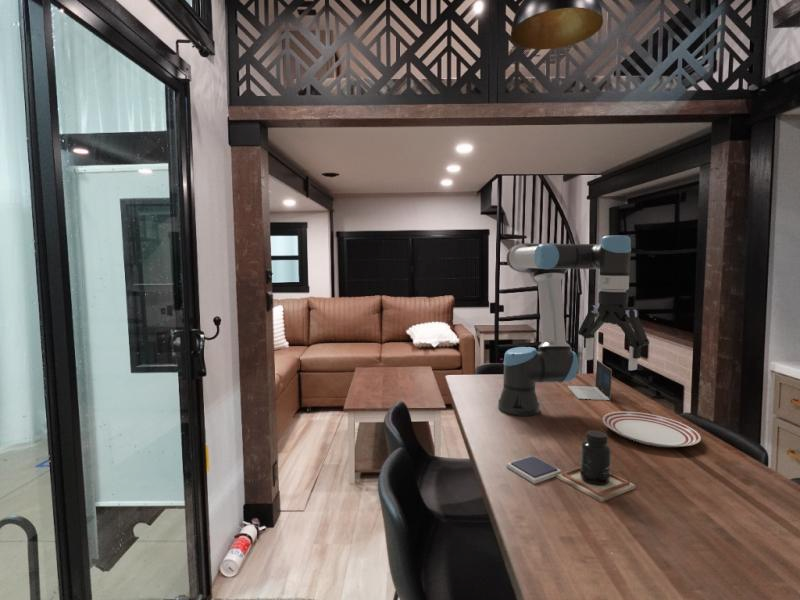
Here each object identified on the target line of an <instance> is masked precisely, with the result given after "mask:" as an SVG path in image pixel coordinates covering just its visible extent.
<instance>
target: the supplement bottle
mask: <svg viewBox="0 0 800 600" xmlns="http://www.w3.org/2000/svg"><path fill="white" fill-rule="evenodd" d="M585 440H586V441H584V442H583V443H582V444H581V454H580V466H581V470H580V475H581V478H582V479H583V480H584V481H586V482H587V483H590V484H593V485H599V486H602V485H606V484H608V483H609V480H610V473H611V461H612V449H611V447H610V446H609V444H608V441H609V440H608V435H607V433H605V432H603V431H599V430H588V431H586V437H585Z"/></svg>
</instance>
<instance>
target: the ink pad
mask: <svg viewBox="0 0 800 600" xmlns="http://www.w3.org/2000/svg"><path fill="white" fill-rule="evenodd" d="M506 468H508V469H509V470H511V471H512V472H514V473H515V474H517V475H519V476H521V477H522V478H524V479H525V480H528V482H531V483H532V484H535V485H536V484H538V483H541V482H543V481H546V480H549V479H551V478H555V477H557V474H560V473H563V471H562V470H561V469H559V468H557V467H556V466H554V465H551V464H550V463H548V462H546V461H544V460H542V459H540V458H539V457H537V456H535V455H530V456H527V457H523V458H521V459H517V460H514V461H511V462H507V463H506Z"/></svg>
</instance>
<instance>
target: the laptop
mask: <svg viewBox="0 0 800 600" xmlns="http://www.w3.org/2000/svg"><path fill="white" fill-rule="evenodd" d="M595 367H596V369H595V370H596V371H595V375H596V376H595V386H586V385H585V386H584V385H583V386H582V385H581V386H579V385H567V387H568V389H569V391H571V392H572V393H573V395H575V397H576V398H577V399H578V400H585V399H588V400H589V399H591V400H589V401H600V400H609V401H608V402H611V399H612V398H611V397H612V380H613V379H612V377H613V375H612V374H613V370H612V369H611V368H610V367H608V365H607V366H606V365H605V364H604V363H603V362H601V361H599V360H598V359H596V366H595ZM588 400H587V401H588Z"/></svg>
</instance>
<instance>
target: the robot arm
mask: <svg viewBox="0 0 800 600" xmlns="http://www.w3.org/2000/svg"><path fill="white" fill-rule="evenodd" d="M631 243H632V242H631V237H630V236H628V235H623V234H621V235H620V234H619V235H618V234H617V235H604V236H602V238H601V239H600V243H594V244H593V243H553V242H549V243H529V242H528V243H519V244H516V245H514V246H512V247H511V248H510V249H509V250H508V252H507V254H506V257H505V258H506V263H507V265H508V267H509V268H510V269H511V270H513V271H516V272H518V273H523V274H524V273H525V274H532V275H533V279H534V280H535V281H536V282H537V286H538V287H537V288H538V302H539V316H540V317H539V319H540V320H539V321H540V332H541V333H540V334H541V343H540V344H539V345H538V347H537V348H538V349H537V348H535V347H531V346H527V347H526V346H517V347H512V348H510V349H509V348H508V349H507V350H506V351H505V353H504V358H503V363H502V364H503V388H502V391H501V394H500V398H499V399H498V404H497V408H498V409H499V411H501V413H504V414H508V415H512V416H516V417H517V416H518V417H520V416H521V417H528V416H529V417H530V416H536V415H537V414H539V413H540V403H539V401H538V397H537V396H538V395H537V392H536V383H559V384H560V383H568V382H572V381H573V380H574V379H575V377H576V375H577V373H578V371H579V370H578V369H579V357H578V355H577V353H576V352H575V351H573V350H571V345H570V344H569V343H568V342H567V341H566V340H567V339H566V328H565V319H564V318H565V315H564V304H563V303H564V302H563V289H562V280H563V279H564V277H565V276H566V275H565V274H566V273H568V271H569V270H599V278H598V281H599V283H598V289H599V292H598V295H597V296H598V298H597V299H598V301H597V302H598V305H596V304H595V305H589V306H588V311H587V314H586V316H585V317H584V320H583V322H582V324H581V325H580V328H579V329H578V332H577V334H578V335H579V336H582V337H583V348H584V349H585V355H584V360H585V361H591V360H594V348H595V347H594V345H595V337H594V336H593V335H594V334H595V333H596V332H597V331H598V330H599V329H600V328H601V327H602V326H603V324H611V325H612V324H613V325H617V326H618V327H620V329H621V331H622V332H623V334H624V335H625V336H626V337H627V339H628V341H629V342H630V344H631V346H629V347H628V348H629V350H628V351H629V353H628V371H635V370H638V359H641V356H642V355H641V353H642V347H644V346H648V345H649V344H650V341H649V339H648V337H647V334H646V332H645V330H644V327H643V324H642V322H641V320H640V315H639V313H640V312H639V310H638V309H628V304H629V292H628V291H627V290H629V289H630V288H629V287H630V268H631V253H632V248H631V247H632V246H631ZM597 314H599V316H597ZM596 316H597V318H596ZM626 317H627V318H629V320H628V319H627V318H626ZM595 318H596V319H595ZM630 324H631V325H630Z"/></svg>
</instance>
